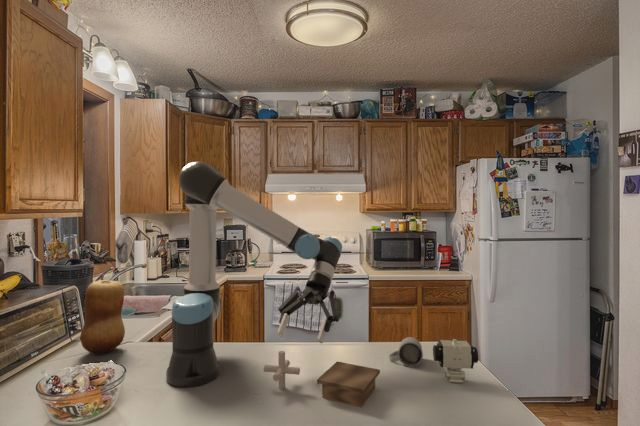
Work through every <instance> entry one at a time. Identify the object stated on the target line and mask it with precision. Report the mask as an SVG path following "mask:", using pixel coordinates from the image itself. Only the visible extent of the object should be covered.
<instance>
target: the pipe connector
mask: <svg viewBox="0 0 640 426" xmlns="http://www.w3.org/2000/svg"><path fill="white" fill-rule="evenodd" d="M290 364H291V362H290V360H289V359H286V351H285V350H279V351H278V365H271V364H264V366H263V372H265V373H274V375H273V377H272V378H273V381H274V382H278V389H279V390H284V389H286V375H297V376H299V375H300V373H301V368H300V367H298V366H297V367H295V366H290Z"/></svg>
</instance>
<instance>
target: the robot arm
mask: <svg viewBox="0 0 640 426" xmlns="http://www.w3.org/2000/svg"><path fill="white" fill-rule="evenodd" d="M178 184H179V188H180V189H181V190H182V192H183V193H184V205H185V207H187V208H188V209H189V237H188V238H189V240H188V242H189V244H188V248H189V249H188V252H189V253H188V255H189V256H188V282H187V283H186V284H185V285H184V286H183V295H181V296H179V297H177V298H176V299H175V300H174V301H173V302H172V306H171V308H172V309H171V324H172V325H171V327H172V328H171V329H172V330H171V332H172V333H171V335H172V339H171V340H172V341H171V343H172V352H171V356H170V358H169V359H170V360H169V363H168V367H167V368H166V373H165V376H166V377H165V378H166V380H165V381H166V383H167V384H169V385H171V386H174V387H181V388H189V387H190V388H191V387H196V386H202V385H204V384H207V383H209V382H213V380H215V379H216V378H218V376H219V375H220V368H221V367H220V363H219V361H218V358H217V355H216V351H215V348H214V324H215V322H216V320H217V319H218V317H219V316H220V313H221V311H222V307H223V306H222V299H221V285H220V284H219V283H218V282H217V281H216V273H217V271H216V266H217V263H216V262H217V259H216V258H217V214H218V213H217V212H218V211H217V210H218V209H221V210H222V211H224V212H226V213H227V214H229V215H231V216H232V217H234V218H236V219H237V220H239V221H241V222H243V223H244V224H246V225H248V226H250V227H251V228H253V229H254V230H256V231H258V232H259V233H260V234H263V235H264V236H265V237H268V238H270V239H271V240H273V241H275V242H276V243H278V244H280V245H281V246H282V247H285V248H286V249H288V250H289V251H291V252H293V253H295V254H296V255H297V256H298V257H300V258H301V259H303V260H311V259H312V260H314V262H313V265H312V267H311V268H312V269H311V270H310V274H309V276H308V279H307V281H306V283H305V284H306V285H305V288H304V289H302V288H300V287H299V286H297V287H295V289H294V291H293V293H292V294H291V295H289V296H288V298H287V299H285V301H284V302H283V303H282V304H280V306H279V307H278V308H277V309H278V311H279V313H280V314H281V316H280V318H279V322H278V323H279V326H278V329H277V332H276V333H277V334H278V335H279V336H280V337H281V338H282V337H284V334H285V331H286V329H287V325H288V323H289V321H290V318H291V317H290V315H291V314H293V313H294V312H296V311H298V309H300V308H302V306H306V305H307V304H308V305H319V304H320V306H321V308H322V311H323V313H324V315H325V318H323V319H322V320H323V321H322V323H321V326H320V330H319V333H318V335H317V341H318V342H319V343H320V344H323V343H324V340H325V337H326V334H327V333H329V332H330V330H331V327H332V324H333V323H334V322H336V323H338V322H339V321H340V318H339V314H338V313H339V312H338V307H337V303H336V299H337V295H336V293H335V290H333V289H331V290H330V286H331V284H332V281H333V278H334V275H335V271H336V269H337V265H338V263H339V260H340V258H341V255H342V251H343V244H342V242H341V241H340V240H339V239H337V238H336V237H331V236H327V237H324V238H323V239H322V238H319V237H318V236H316V235H314V234H312V233H310V232H309V231H307V230H305V229H303V228H302V227H300V226H298V225H297V224H295V223H293V222H291V221H290V220H288V219H287V218H286V217H283V216H281V215H280V214H278V213H277V212H275V211H273V210H272V209H270V208H268V207H266V206H265V205H264V204H262V203H260V202H258V201H257V200H255V199H254V198H252V197H250V196H249V195H247V194H245V193H243V192H242V191H241V190H239V189H238V188H235V187H234V186H232V185H231V184H229V180H228V179H227V178H226V177H224V176H223V175H222V174H221V172H220V171H219V170H218V169H216V168H215V167H214V166H212V165H210V164H208V163H206V162H203V161H191V162H189V163H187V164H186V165H185V166H183V168H182V169H181V171H180V172H179V175H178ZM329 290H330V291H329ZM327 298H328V299H329V303H330V308H331V314H332V315H331V314H330V312H329V310H328V307H327V306H326V303H325V302H324V300H325V299H327Z"/></svg>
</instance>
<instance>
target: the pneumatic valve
mask: <svg viewBox="0 0 640 426" xmlns="http://www.w3.org/2000/svg"><path fill="white" fill-rule="evenodd" d="M432 356H433V360H434V362H438V364H439V367H440V368H446V369H445V370H444V378H445V379H446V380H448V382H449V383H452V384H463V383H464V381H465V380H466V373H465V371H464V370H462V369H471V370H472V369H474V366H475V364H477V363H478V362H479V352H478V349H477V347H476V346H473V345H472V343H471V342H470V341H468V340H457V338H455V339H454V338H453V339H452V340H451V339H450V340H447V339H445V340H444V339H437V343H436V344H434V345H432Z"/></svg>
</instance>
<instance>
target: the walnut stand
mask: <svg viewBox="0 0 640 426" xmlns="http://www.w3.org/2000/svg"><path fill="white" fill-rule="evenodd" d="M380 370H381V369H378V368H372V367H368V366H362V365H359V364H352V363H347V362H342V361H336V362H335V363H333V364H332V365H331V366H330V367H329V368H328V369H327V370H325V372H323V374H321V375H320V376H319V377H318V378H317V379H316V383H317V384H319V385H321V389H322V390H321V391H322V392H321V393H322V394H321V397H322V398H323V399H327V400H331V401H336V402H338V403H343V404H346V405H347V404H348V405H351V406H356V407H359V408H360V407H361V408H362V407H363V406H364V405H365V403H366V402H367V400H368V399H369V397H370V396H371V395H372V394H373V392H374V390H375V389H376V379H377V378H378V376H379V375H380V372H381V371H380Z"/></svg>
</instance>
